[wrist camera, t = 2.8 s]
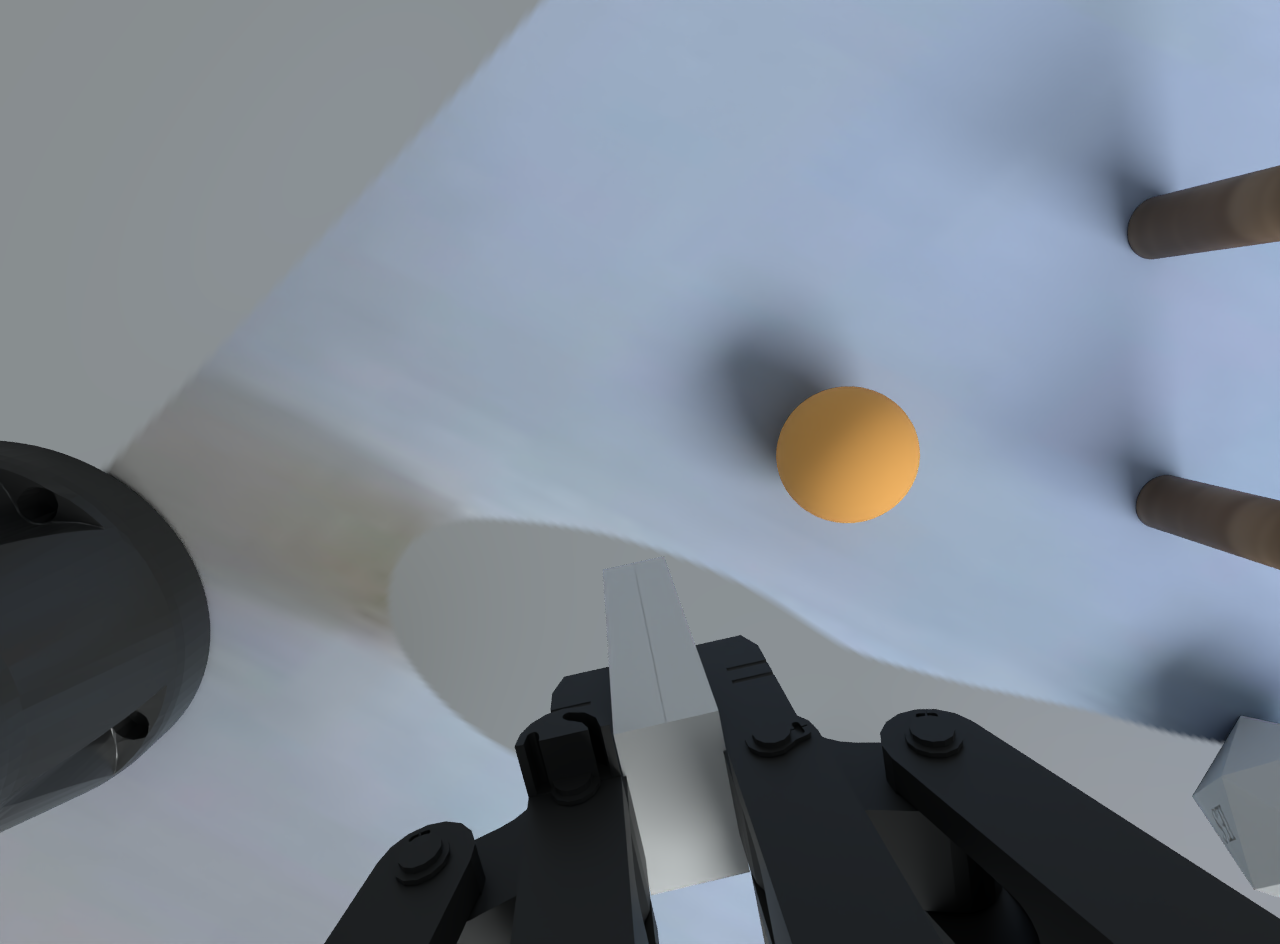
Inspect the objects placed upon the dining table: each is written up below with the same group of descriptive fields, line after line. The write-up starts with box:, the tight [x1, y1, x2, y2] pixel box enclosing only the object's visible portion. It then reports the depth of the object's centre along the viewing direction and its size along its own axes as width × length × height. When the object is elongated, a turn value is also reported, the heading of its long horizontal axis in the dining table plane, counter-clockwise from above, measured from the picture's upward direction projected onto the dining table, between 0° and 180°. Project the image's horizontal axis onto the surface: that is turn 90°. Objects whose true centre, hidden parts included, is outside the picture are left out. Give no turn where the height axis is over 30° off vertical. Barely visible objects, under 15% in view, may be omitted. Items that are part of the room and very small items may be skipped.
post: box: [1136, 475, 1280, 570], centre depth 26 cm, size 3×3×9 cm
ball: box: [776, 387, 920, 523], centre depth 26 cm, size 6×6×6 cm
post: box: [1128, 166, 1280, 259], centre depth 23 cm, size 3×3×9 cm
